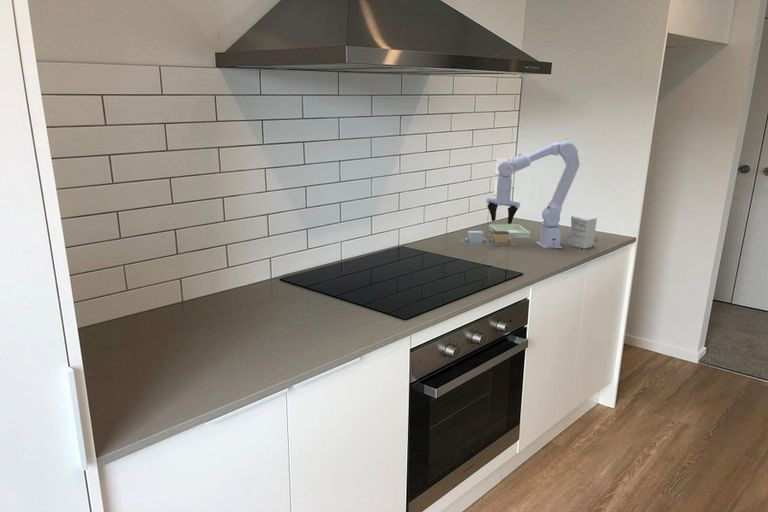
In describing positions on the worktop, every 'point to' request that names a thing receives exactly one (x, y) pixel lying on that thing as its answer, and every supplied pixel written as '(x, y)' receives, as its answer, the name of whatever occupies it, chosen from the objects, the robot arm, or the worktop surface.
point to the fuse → (475, 236)
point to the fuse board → (487, 242)
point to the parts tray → (511, 230)
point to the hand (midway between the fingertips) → (501, 222)
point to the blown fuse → (500, 236)
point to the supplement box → (583, 231)
